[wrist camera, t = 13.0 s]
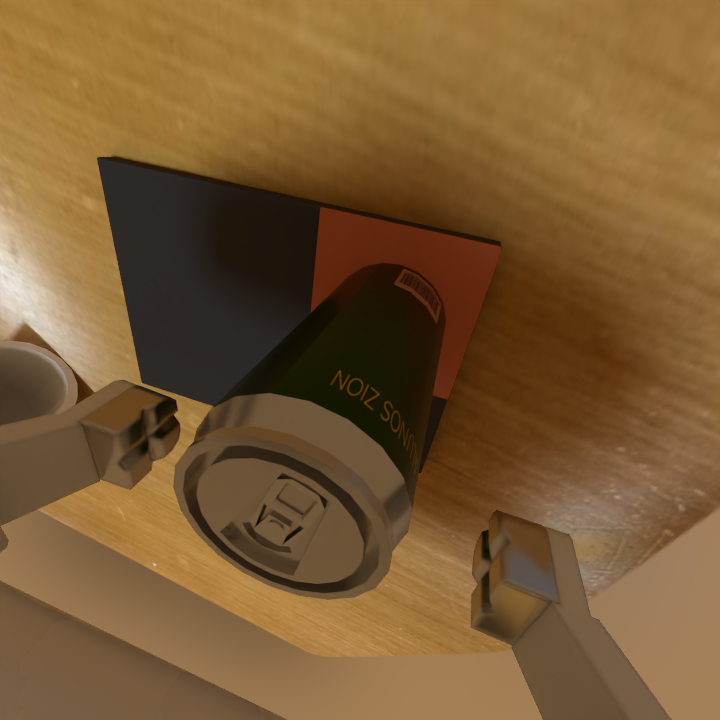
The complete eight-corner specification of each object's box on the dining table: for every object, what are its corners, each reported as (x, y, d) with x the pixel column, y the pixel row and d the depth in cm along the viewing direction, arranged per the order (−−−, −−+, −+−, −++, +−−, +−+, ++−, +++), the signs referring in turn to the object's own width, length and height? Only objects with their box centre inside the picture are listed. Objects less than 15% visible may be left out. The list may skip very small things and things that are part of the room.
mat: (501, 241, 16) (502, 247, 15) (422, 462, 23) (420, 476, 22) (112, 156, 19) (92, 156, 18) (152, 375, 26) (139, 384, 25)
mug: (-156, 486, 25) (-128, 437, 20) (-54, 381, 31) (-10, 321, 26) (36, 530, 32) (98, 503, 26) (89, 438, 38) (149, 400, 32)
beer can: (370, 234, 16) (194, 370, 6) (471, 301, 16) (463, 539, 6) (320, 325, 19) (146, 518, 9) (406, 381, 19) (330, 630, 9)
